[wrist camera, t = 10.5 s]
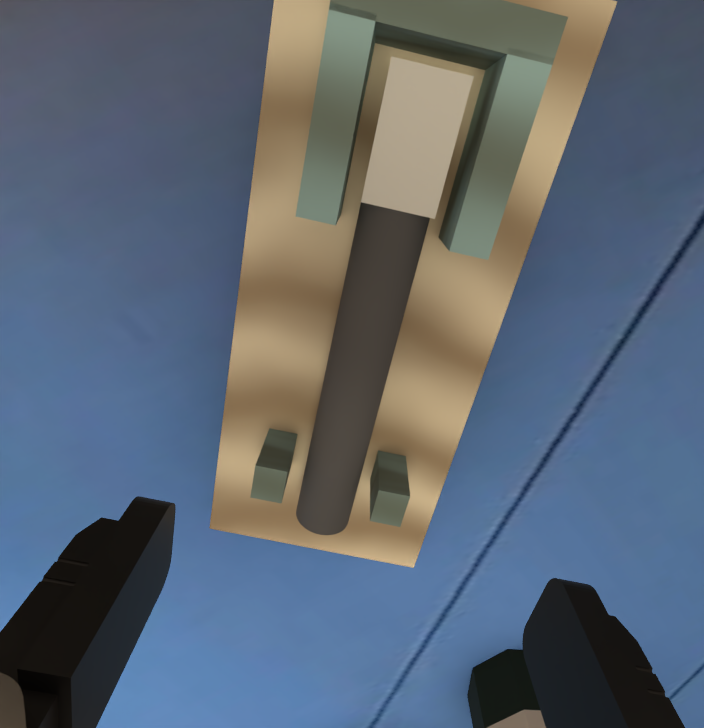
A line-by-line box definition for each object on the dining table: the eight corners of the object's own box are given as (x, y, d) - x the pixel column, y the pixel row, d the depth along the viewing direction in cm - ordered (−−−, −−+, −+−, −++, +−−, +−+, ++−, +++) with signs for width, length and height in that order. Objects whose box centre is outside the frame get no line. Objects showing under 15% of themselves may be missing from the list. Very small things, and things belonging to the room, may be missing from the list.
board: (411, 550, 32) (418, 616, 27) (216, 511, 31) (190, 573, 27) (600, 12, 20) (668, -30, 15) (290, -68, 19) (265, -137, 15)
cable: (349, 502, 29) (347, 539, 26) (300, 493, 28) (292, 529, 26) (459, 86, 20) (473, 76, 17) (388, 69, 20) (391, 56, 17)
